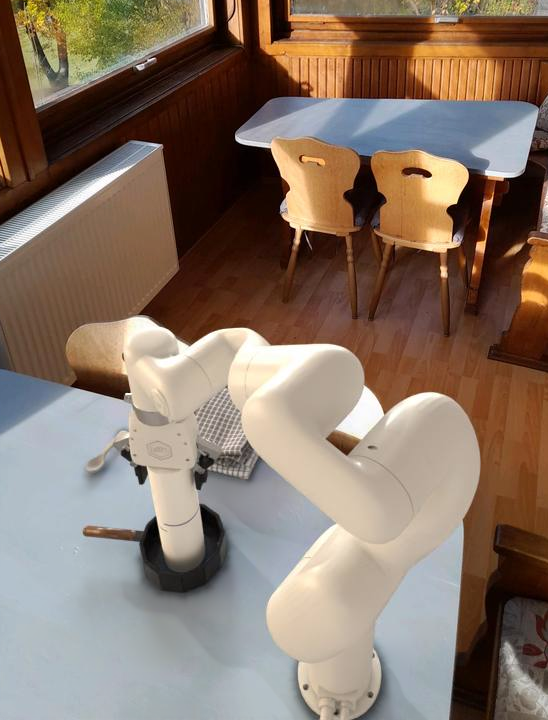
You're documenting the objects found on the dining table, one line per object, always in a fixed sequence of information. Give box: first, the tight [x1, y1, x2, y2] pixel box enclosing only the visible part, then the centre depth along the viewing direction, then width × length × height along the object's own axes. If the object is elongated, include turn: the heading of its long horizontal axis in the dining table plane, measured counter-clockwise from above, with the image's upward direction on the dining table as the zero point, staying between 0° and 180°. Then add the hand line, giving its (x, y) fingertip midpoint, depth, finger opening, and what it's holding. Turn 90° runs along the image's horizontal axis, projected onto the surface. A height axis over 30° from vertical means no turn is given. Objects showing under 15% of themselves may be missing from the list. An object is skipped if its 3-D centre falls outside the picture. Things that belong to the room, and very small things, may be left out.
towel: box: [194, 387, 260, 480], centre depth 137 cm, size 15×18×8 cm
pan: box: [82, 503, 228, 594], centre depth 117 cm, size 14×25×4 cm, turn 84°
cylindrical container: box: [147, 466, 206, 573], centre depth 111 cm, size 7×7×25 cm
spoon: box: [85, 429, 129, 474], centre depth 136 cm, size 3×12×2 cm, turn 159°
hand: (172, 480), depth 108 cm, fingers open, 9 cm apart
